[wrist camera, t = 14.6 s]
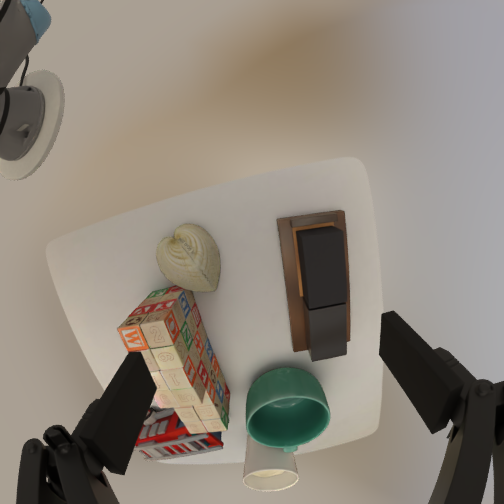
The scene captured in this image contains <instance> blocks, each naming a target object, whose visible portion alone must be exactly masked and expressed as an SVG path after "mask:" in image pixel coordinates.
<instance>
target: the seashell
mask: <svg viewBox="0 0 504 504" xmlns="http://www.w3.org/2000/svg"><path fill="white" fill-rule="evenodd" d="M156 258H157V262H158V265H159V267H160V269H161V271H162V272H163V274H164V275H165V276H166V278H167V279H169V280H170V281H171V282H172V283H174V284H175V285H177V286H179V287H181V288H184V289H187V290H190V291H196V292H208V291H215V290H216V288H217V283H218V278H219V274H220V256H219V251H218V248H217V246H216V244H215V242H214V240H213V238H212V237H211V236H210V234H209V233H208V232H207V231H205V230H204V229H203V228H201V227H199V226H197V225H194V224H183V225H180V226H179V227H177V228H176V230H175V232H174V238H173V237H165V238H163V239H162V240H161V241H160V243H159V244H158V247H157V251H156Z"/></svg>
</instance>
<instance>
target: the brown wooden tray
mask: <svg viewBox="0 0 504 504" xmlns="http://www.w3.org/2000/svg"><path fill="white" fill-rule="evenodd" d="M277 224H278V231H279V238H280V246H281V253H282V261H283V269H284V277H285V285H286V293H287V301H288V310H289V318H290V327H291V336H292V346H293V351H294V352H298V351H304V350H308V351H309V354H310V357H311V360H312V362H313V361H318V360H323V359H328V358H333V357H338V356H342V355H346V354H347V342H349V341H350V284H349V263H348V247H347V234H346V223H345V213H344V211H342V210H338V211H330V212H323V213H315V214H308V215H300V216H293V217H286V218H279V219H277ZM325 226H334V227H336V228H338V229H340V230H342V231H343V234H344V246H345V259H346V276H347V302H343V303H338V304H333V305H328V306H322V307H317V308H311V309H309V307H308V305H307V303H306V300H305V298H304V296H303V290H302V280H301V271H300V262H299V254H298V246H297V238H296V231H298V230H305V229H312V228H319V227H325Z"/></svg>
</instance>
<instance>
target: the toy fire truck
mask: <svg viewBox="0 0 504 504" xmlns="http://www.w3.org/2000/svg"><path fill="white" fill-rule="evenodd" d="M228 423H229V418H228ZM135 446H136V447H134V450H133V451H136V450H138V451H139V452H141V453H142V454H143V455H144V456H146V457H147V458H144V460H145V461H154V460H163V459H171V458H178V457H184V456H190V455H196V454H201V453H206V452H211V451H216V450H220V449H223V447H222V446H223V442H222V441H221V431H218V432H208V433H195V434H190V433H189V431H188V430H187V428H186V426H185V425H184V423H183V422H182V421H181V419H180V418H179V416H178V415H177V413H176V411H175V410H174V407H173V408H169V409H166V410H163V411H160V412H157V413H156V412H155V411H154V410H153V409H152V408H149V410H148V413H147V415H146V418H145V421H144V423H143V426H142V428H141V431H140V434H139V436H138V439H137V442H136V444H135ZM142 451H143V452H142ZM182 452H183V453H182ZM146 454H147V455H146Z"/></svg>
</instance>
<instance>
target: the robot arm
mask: <svg viewBox="0 0 504 504" xmlns="http://www.w3.org/2000/svg"><path fill="white" fill-rule="evenodd" d="M43 1H44V0H41V2H39V1H38V0H0V158H2V159H4V160H7V161H16V160H19V159H21V158H23V157H24V156H25V155H26V154H27V153H28V152H29V151H30V149H31V148H32V146H33V145H34V143H35V141H36V140H37V138H38V135H39V133H40V130H41V127H42V124H43V120H44V115H45V98H44V95H43V93H42V91H41V90H40V89H39V88H36V87H34V86H22V85H23V80H24V76H25V73H26V70H27V67H28V63H29V57H28V53H29V52H30V51H31V49H32V48H33V47H34V45H36V44H37V43H38V41H39V39H40V38H41V37H42V35H43V34H44V32H45V31H46V30H47V29H48V28H49V26H50V23H51V16H50V14H49V13H48V11H47V10H46V9H45V7H44V6H43V5H42V2H43ZM24 59H26V64H25V67H24V70H23V73H22V76H21V80H20V84H19V87H12V88H6V87H7V85H8V83H9V82H10V80H11V78H12V77H13V75H14V74H15V72H16V70H17V69H18V68H19V66H20V65H21V63H22V62H23V60H24ZM379 355H380V357H381V358H382V360H383V361H384V362H385V364H386V365H387V367H388V368H389V370H390V371H391V373H392V374H393V375H394V377H395V378H396V380H397V381H398V383H399V384H400V386H401V387H402V389H403V390H404V392H405V393H406V395H407V396H408V398H409V399H410V401H411V402H412V404H413V405H414V407H415V408H416V410H417V412H418V413H419V415H420V416H421V418H422V419H423V421H424V422H425V424H426V426H427V427H428V429H429V430H430V432H431V433H432V434H434V433H436V432H438V431H440V430H442V429H444V428H446V426H447V424H448V422H449V420H450V419H451V421H452V422H453V427H452V428H451V430H450V432H449V434H448V436H447V438H449V437H450V438H449V442H448V446H447V450H446V454H445V458H444V461H443V464H442V467H441V470H440V473H439V476H438V480H437V482H436V485H435V488H434V490H433V493H432V496H431V498H430V500H429V503H428V504H481V502H482V498H483V495H484V490H485V487H486V482H487V478H488V473H489V467H490V462H491V455H492V457H493V470H494V504H504V381H502V382H499V383H495V384H493V383H492V382H490V381H488V380H485V379H480V380H477V379H476V378H475V377H474V376H473V375H472V374H471V373H470V372H469V371H468V370H467V369H466V368H465V367H464V366H463V365H462V364H461V363H459V361H457V359H456V358H454V356H453V355H452V354H451V353H450V352H449V351H447V350H445V349H443V348H440V347H439V348H437V349H434V350H433V349H432V348H431V347H430V346H429V345H428V344H427V343H426V342H425V341H424V340H423V339H422V338H421V337H420V336H419V335H418V334H417V333H416V332H415V331H414V330H413V329H412V328H411V327H410V326H409V325H408V324H407V323H406V322H405V321H404V320H403V319H402V318H401V317H400V316H399V315H398V314H397V313H396V312H395V311H390V312H386V313H383V314H382V315H381V334H380V348H379ZM156 390H157V386H156V384H155V382H154V380H153V378H152V376H151V373H150V371H149V369H148V367H147V364H146V362H145V360H144V357H143V355H142V353H141V351H138V352H129V353H128V355H127V356H126V358H125V360H124V361H123V363H122V364H121V366H120V367H119V369H118V371H117V372H116V374H115V375H114V377H113V379H112V380H111V382H110V384H109V385H108V387H107V388H106V390H105V392H104V393H103V395H102V397H101V398H100V399H96V400H95V401H93V403H91V404H90V405H89V407H88V408H87V410H86V413H84V415H83V416H82V419H81V420H80V421H79V423H78V425H77V427H76V428H75V430H74V431H73V433H72V435H70V434H69V433H68V431H67V430H66V429H65V427H63V426H62V425H53V426H51V427H49V428H48V429H47V430H46V431H45V433H44V434H43V439H44V440H45V442H46V443H47V444H48V445H49V446H44V444H43V443H42V442H41V441H40V440H38V439H35V438H33V439H30V440H28V441H27V442H26V443H25V444H24V446H23V449H22V455H21V461H20V468H19V476H18V486H17V499H16V504H119V502H118V500H117V498H116V496H115V494H114V492H113V490H112V488H111V486H110V484H109V482H108V479H107V478H106V475H105V474H104V472H103V471H102V470H103V467H104V466H105V467H106V468H107V469H108V470H109V471H110V472H111V473H116V474H120V475H125V472H126V469H127V466H128V463H129V461H130V458H131V455H132V452H133V450H134V447H135V444H136V442H137V439H138V436H139V434H140V431H141V428H142V426H143V423H144V421H145V418H146V415H147V413H148V410H149V408H150V405H151V403H152V400H153V398H154V395H155V393H156ZM46 477H47V478H48V482H46Z"/></svg>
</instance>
